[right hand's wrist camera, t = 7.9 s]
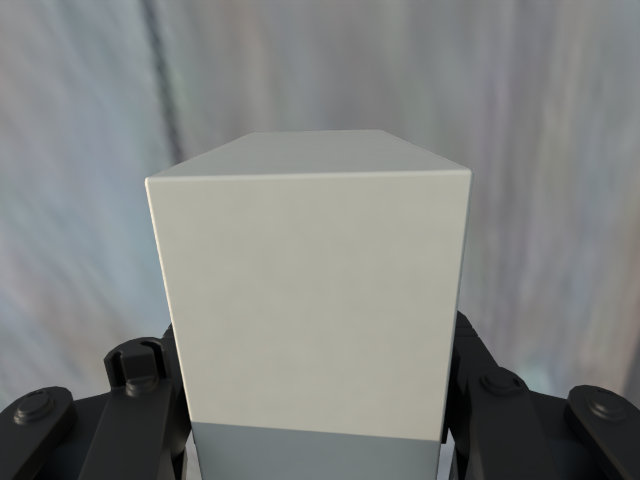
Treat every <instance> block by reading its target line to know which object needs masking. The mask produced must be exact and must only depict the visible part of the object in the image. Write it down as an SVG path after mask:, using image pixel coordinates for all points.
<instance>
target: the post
mask: <svg viewBox="0 0 640 480" xmlns="http://www.w3.org/2000/svg"><path fill="white" fill-rule="evenodd" d="M473 177H474V173H473V170H471V169H469V168H466V167H464V166H462V165H460V164H457V163H455V162H453V161H450V160H448V159H446V158H444V157H441V156H439V155H437V154H434V153H432V152H430V151H428V150H425V149H423V148H421V147H419V146H416V145H414V144H412V143H409V142H407V141H405V140H403V139H400V138H398V137H396V136H394V135H391V134H389V133H387V132H384V131H382V130H380V129H373V130H334V131H294V132H255V133H250V134H248V135H245V136H243V137H241V138H238V139H236V140H234V141H231V142H229V143H227V144H224V145H222V146H220V147H217V148H215V149H213V150H210V151H208V152H206V153H203V154H201V155H199V156H196V157H194V158H192V159H189V160H187V161H185V162H182V163H180V164H178V165H175V166H173V167H171V168H168V169H166V170H164V171H161V172H159V173H156V174H154V175H152V176H150V177H147V178H146V180H145V186H146V191H147V196H148V201H149V206H150V212H151V217H152V222H153V227H154V232H155V238H156V243H157V248H158V253H159V258H160V264H161V269H162V274H163V279H164V284H165V289H166V295H167V300H168V305H169V310H170V315H171V321H172V326H173V331H174V336H175V341H176V347H177V352H178V357H179V362H180V367H181V373H182V378H183V383H184V388H185V393H186V399H187V404H188V409H189V414H190V419H191V425H192V430H193V435H194V440H195V445H196V451H197V456H198V461H199V466H200V471H201V477H202V480H437V473H438V464H439V456H440V448H441V440H442V431H443V423H444V415H445V407H446V399H447V390H448V382H449V374H450V366H451V358H452V349H453V341H454V333H455V325H456V317H457V308H458V300H459V292H460V284H461V276H462V267H463V259H464V251H465V243H466V235H467V226H468V218H469V210H470V202H471V194H472V185H473Z"/></svg>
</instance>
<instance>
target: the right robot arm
mask: <svg viewBox="0 0 640 480" xmlns="http://www.w3.org/2000/svg"><path fill="white" fill-rule="evenodd" d="M104 364H105V367H106V371H107V375H108V379H109V382H110V386H111V391H110V392H108V393H105V394H101V395H97V396H93V397H88V398H84V399H80V400H75V401H74V400H73V397H72V394H71V392H70V391H69V390H68V389H66V388H63V387H57V386H55V387H47V388H42V389H39V390H36V391H33V392H30V393H28V394H26V395H24V396H23V397H21V398H19V399H17V400H15V401H14V402H13V403H12V404H10V405H9V406H8V407H7V408H5V409H4V410H3V411H2V412H1V413H0V480H186V470H187V452H186V446H185V444H186V442H187V439H188V436H189V434H190V431H191V429H192V425H191V419H190V414H189V409H188V404H187V399H186V393H185V388H184V383H183V378H182V373H181V367H180V362H179V357H178V352H177V347H176V341H175V336H174V331H173V326H172V323H171V324H170V326H169V327H168V330H166V332H165V333H164V335H163V338H161V339H158V338H155V337H141V338H137V339H133V340H129V341H127V342H125V343H123V344H120V345H118V346H117V347H115V348H114V349H113V350H111V351H110V352H109V353H108V354H107V356H106V357H105V358H104ZM448 429H450V431H451V434H452V436H453V439H454V442H455V446H454V452H453V457H452V463H451V468H450V474H449V480H640V411H639V410H638V409H637V408H636V407H635V406H634V405H633V404H631V403H630V402H629V401H627V400H626V399H625V398H623V397H621V396H619V395H617V394H616V393H614V392H612V391H609V390H606V389H603V388H600V387H597V386H590V385H581V386H575V387H574V388H573V389H572V390H570V392H569V395H568V398H567V399H563V398H558V397H554V396H550V395H545V394H541V393H537V392H534V391H531V390H529V388H528V387H527V385H526V384H525V382H524V381H523V380H522V379H521V378H520V377H519V376H517V375H516V374H515V373H513V372H511V371H509V370H507V369H505V368H503V367H499V366H498V365H497V363H496V362H495V360H494V359H493V357H492V356H491V354H490V353H489V351H488V350H487V348H486V346H485V345H484V343H483V342H482V340H481V339H480V337H478V334H477V333H476V331H475V330H474V328H472V325H471V324H470V322H469V321H468V319H467V318H466V316H465V315H463V314H462V313H461V312H459V311H458V310H457V317H456V325H455V333H454V341H453V349H452V358H451V366H450V374H449V382H448V390H447V399H446V407H445V415H444V423H443V431H442V440H441V444H446V441H447V435H448ZM192 433H193V430H192ZM193 439H194V435H193ZM194 444H195V440H194Z"/></svg>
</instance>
